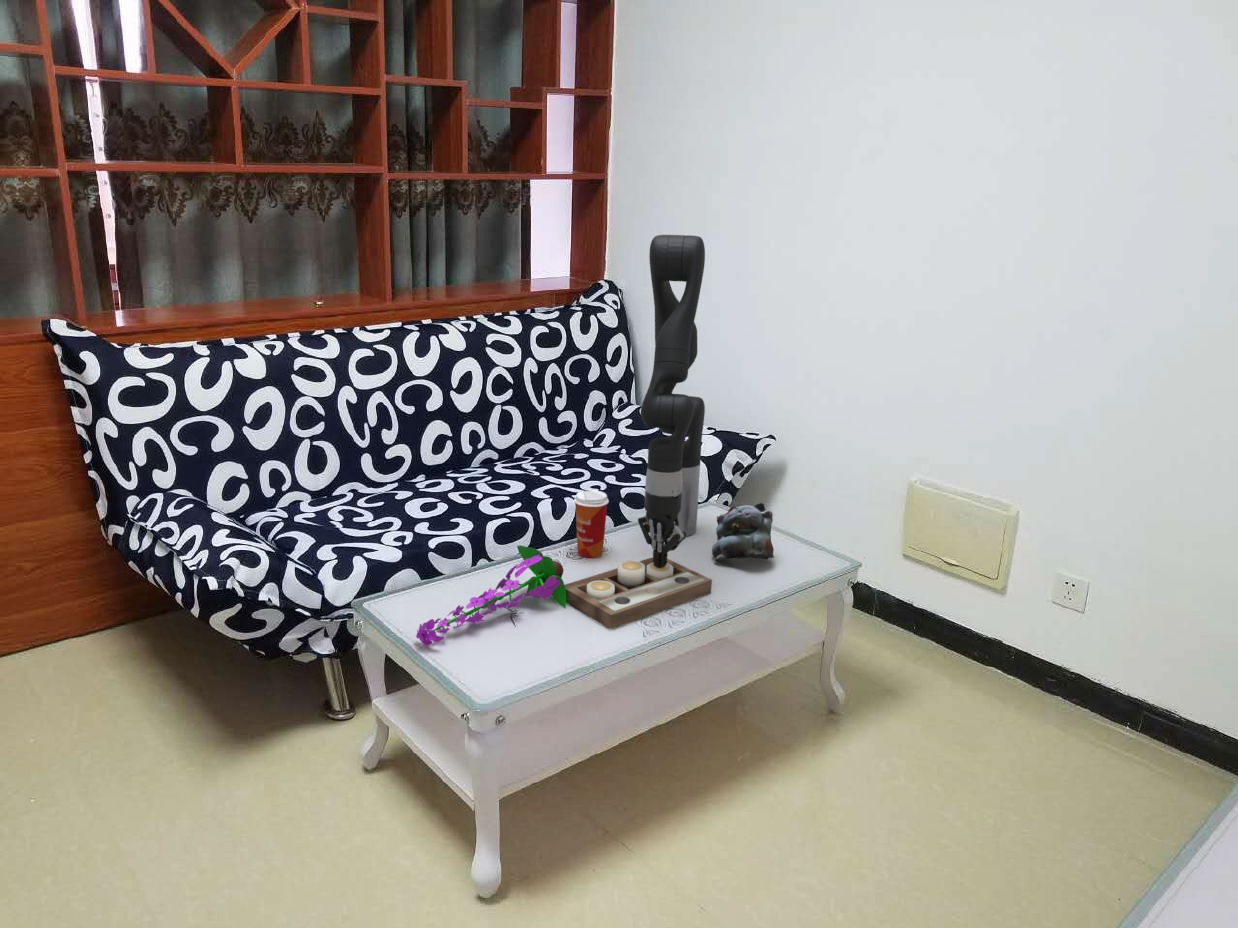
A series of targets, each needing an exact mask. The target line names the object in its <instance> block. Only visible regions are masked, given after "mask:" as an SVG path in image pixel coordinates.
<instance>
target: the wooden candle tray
mask: <svg viewBox="0 0 1238 928" xmlns="http://www.w3.org/2000/svg"><path fill="white" fill-rule="evenodd" d="M638 562H641V563H643V564H644V565H645V581H644V582H643V583H642V584H639V585H625V584H622V583H620V582H619V581H618V580H617V577H618V567H616V568H614V569H610V570H608V571H604V572H600V573H598V574H594V575H591V576H587V577H585V578H582V579H579V580H575V581H573V582H569V583H566V584H565V583H564V585H565V590H566V605H569V606H571V607H572V608H574V609H576V610H578V611H579V612H581V613H583V614H584V615H586V616H587V617H589V618H591V619H593V620H595V621H596V622H597V623H599V624H601V625H603V627H607V628H608V629H610V630H613V629H615V628H618V627H621V626H624V625H627V624H629V623H632V622H635V621H637V620H640V619H643V618H646V617H649V616H652V615H654V614H657V613H659V612H663V611H666V610H668V609H671V608H673V607H674V608H675V607H676V606H679V605H682V604H684V603H687V602H690V601H693V600H695V599H699V598H702V597H704V596H707V595H710V594H712V586H713V585H712V583H713V579H711V578H710V577H707V576H705V575H703V574H701V573H698V572H696V571H694V570H693V569H690V568H688V567H686V566H684V565H682V564H680V563H677V562H675V561H673V560H672V559H669V558H667V563H668V564H670V565H672V566H673V575H672V576H669V577H666V578H663V579H660V580H658V579H656V578H654V577H652V576H650V575H648V574H646V570H647V565H648V564H650V563H653V556H652V557H649V558H645V559H643V560H638ZM598 580H602V581H608V582H611V583H613V584H614V586H615V595H612V596H609V597H606V598H603V599H600V600H597V599H595V598H593V597H592V596H590V595H588V594H587V584H588V583H590V582H592V581H598Z"/></svg>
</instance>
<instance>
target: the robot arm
mask: <svg viewBox="0 0 1238 928" xmlns="http://www.w3.org/2000/svg"><path fill="white" fill-rule="evenodd" d="M704 243H705V242H704V240H703V238H702V237H701V236H697V235H690V234H689V235H684V234H657V235H655V236H654V237H653V238H652V240H651V243H650V245H649V246H650V247H649V256H648V257H649V271H650V276H651V277H650V278H651V279H650V280H651V286H652V287H651V288H652V294H653V305H654V345H655V348H654V358H653V360H654V361H653V368H652V369H653V370H652V374H651V379H650V382H649V386H648V388H647V390H646V394H645V395H644V399H643V401H642V404H641V407H640V418H641V421H642V423H643V424H644V425H645V426H646V427H648V428H654V429H656V428H657V429H659V431H660V432H662V433H663V434H667V436H662V437H656V438H653V439H651V440H650V441H649V442H648V443H649V444H648V450H647V467H646V468H647V469H646V475H645V485H644V486H645V488H644V490H645V491H644V510H645V511H646V512H645V515H644V516H641V517H638V518H637V522H638V525H639V527H640V529H641V532H642V535H643V537H644V539H645V542H646V544H647V545H650V546H651V548H652V550H653V553H652V554H653V555H652V557H653V563H654V566H655V567H657V568H662V567H665V566H666V564H667V559H668V554H669V552H671V551H675V550H676V549H677V548H678V546H680V545H681V544H682V542H683V541H684V540H685V539H686V537H688V536H691V535H694V534H696V533H697V525H698V524H697V523H698V522H697V521H698V508H699V493H700V489H699V488H700V478H701V476H700V473H701V457H702V455H701V454H702V440H703V433H704V432H703V431H704V423H705V422H704V421H705V412H706V410H705V409H706V408H705V402H704V399H703V398H702V397H700V396H692V395H687V394H682V393H673V391H674V389H675V388H676V386H677V384H680V383H684V382H686V380H687V379H688V375H689V370H690V368H691V367H692V366H693V365H694V363H695V362H696V358H697V357H698V328H697V325H696V322H695V319H696V314H697V309H698V304H699V300H700V299H699V298H700V294H701V288H702V284H703V277H704V271H705V260H706V249H705V244H704ZM670 282H685V287H684V291H683V294H682V297H681V298H680V300H678V298H677V297H676V295H675V293H674V291H673V289H672V286H671V283H670ZM686 437H688V438H687V439H686Z"/></svg>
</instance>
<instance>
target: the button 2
mask: <svg viewBox="0 0 1238 928" xmlns="http://www.w3.org/2000/svg"><path fill="white" fill-rule="evenodd" d="M646 574H648V575H650V576H652V577H654V578H656V579H658V580H660V579H663V578H666V577H669V576H672V575H673V566H672V565H670V564H668V563H667V564H666V566H665V567H662V568H657V567H655V566H654V563H650V564H648V565H647V570H646Z"/></svg>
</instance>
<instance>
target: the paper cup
mask: <svg viewBox="0 0 1238 928" xmlns="http://www.w3.org/2000/svg"><path fill="white" fill-rule="evenodd" d="M573 501H574V503H575V518H576V519H575V521H576V522H575V523H576V542H577V545H576V547H577V555H578V556H580V557H581V558H585V559H596V558H599V557H601V556H602V555H603V551H604V543H605V532H606V520H607V512H608V511H607V509H608V504H609V502H610V501H609V498H608V495H607V493H605V492H604V491H600V490H595V489H594V490H592V489H591V490H583V491H579V492H577V493H576V496H575V497H574V499H573Z"/></svg>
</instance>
